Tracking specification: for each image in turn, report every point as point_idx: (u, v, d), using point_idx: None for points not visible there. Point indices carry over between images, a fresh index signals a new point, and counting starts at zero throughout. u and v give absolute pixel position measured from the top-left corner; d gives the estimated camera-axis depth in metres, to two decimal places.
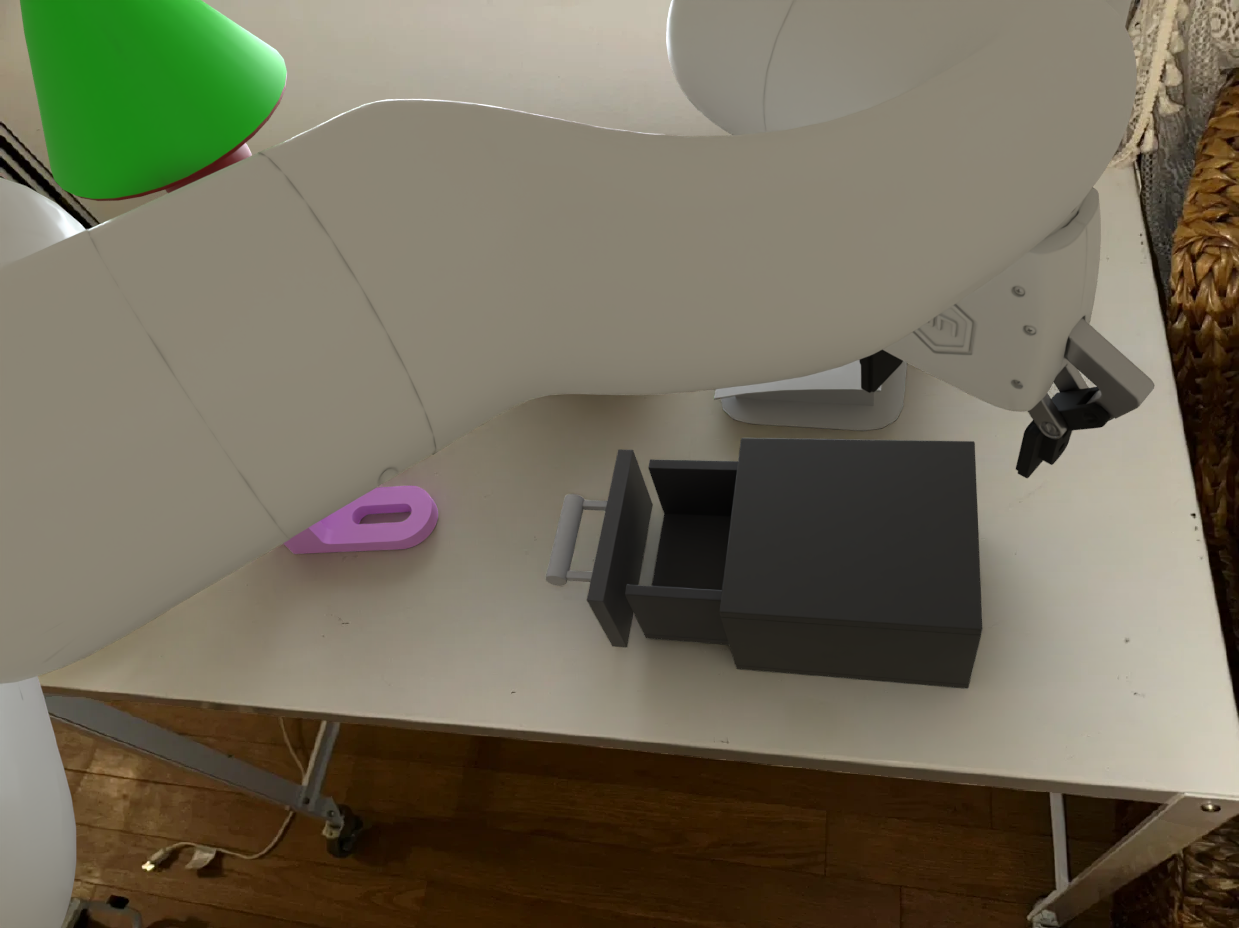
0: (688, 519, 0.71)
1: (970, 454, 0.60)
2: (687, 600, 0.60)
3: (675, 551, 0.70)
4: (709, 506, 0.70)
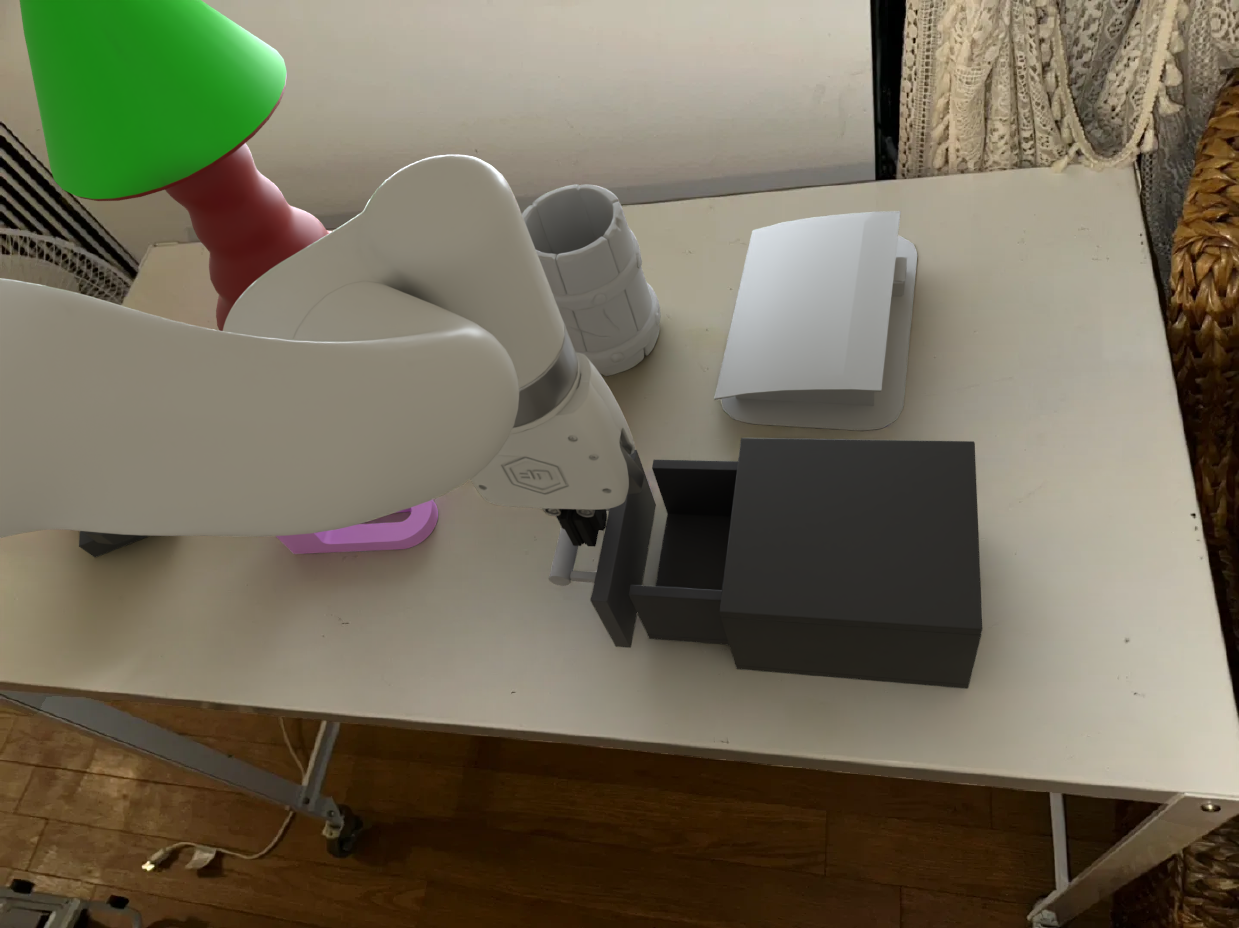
0: (691, 519, 0.71)
1: (970, 454, 0.60)
2: (691, 600, 0.60)
3: (678, 551, 0.70)
4: (713, 506, 0.70)
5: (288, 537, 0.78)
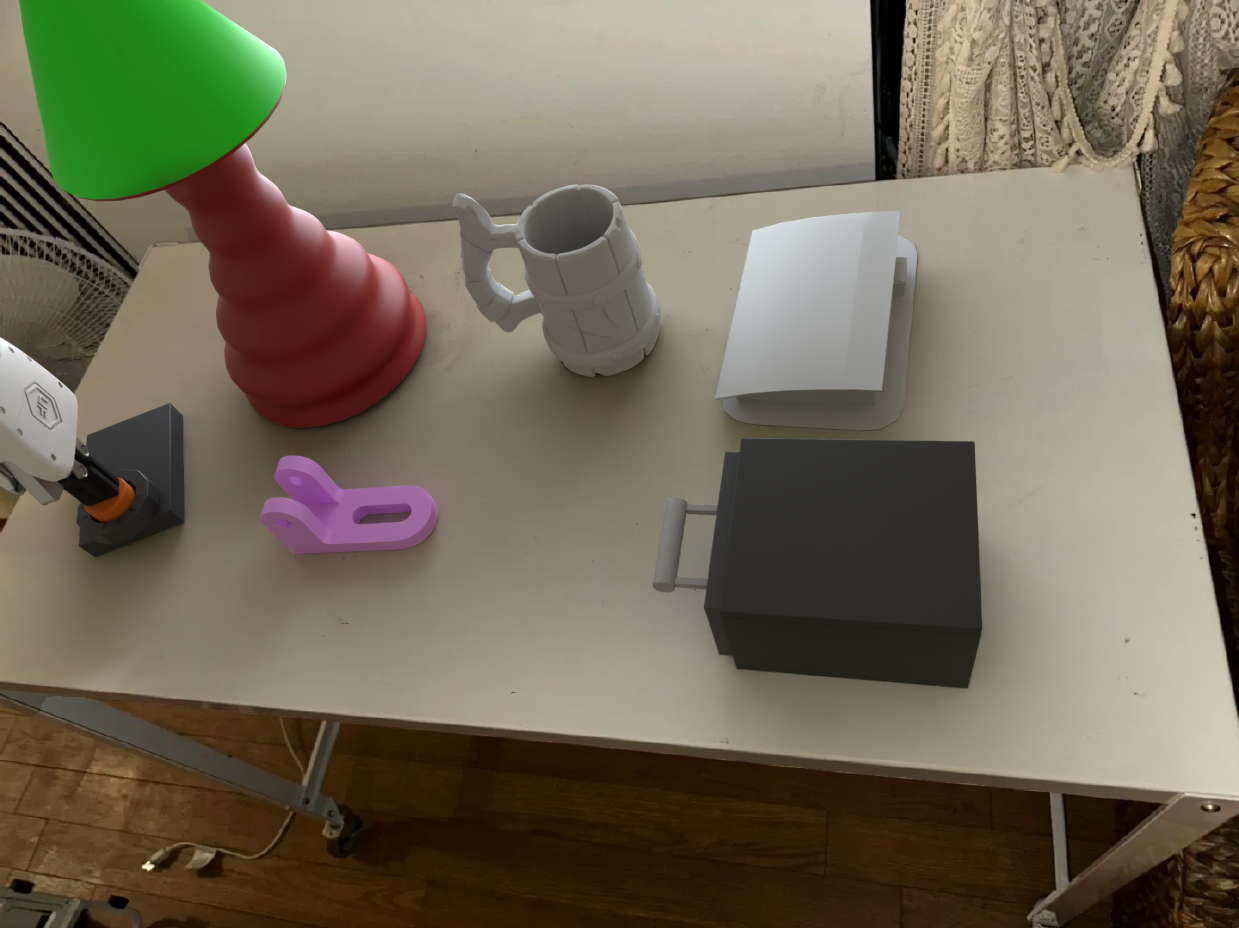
0: None
1: (970, 454, 0.60)
2: None
3: None
4: None
5: (288, 537, 0.78)
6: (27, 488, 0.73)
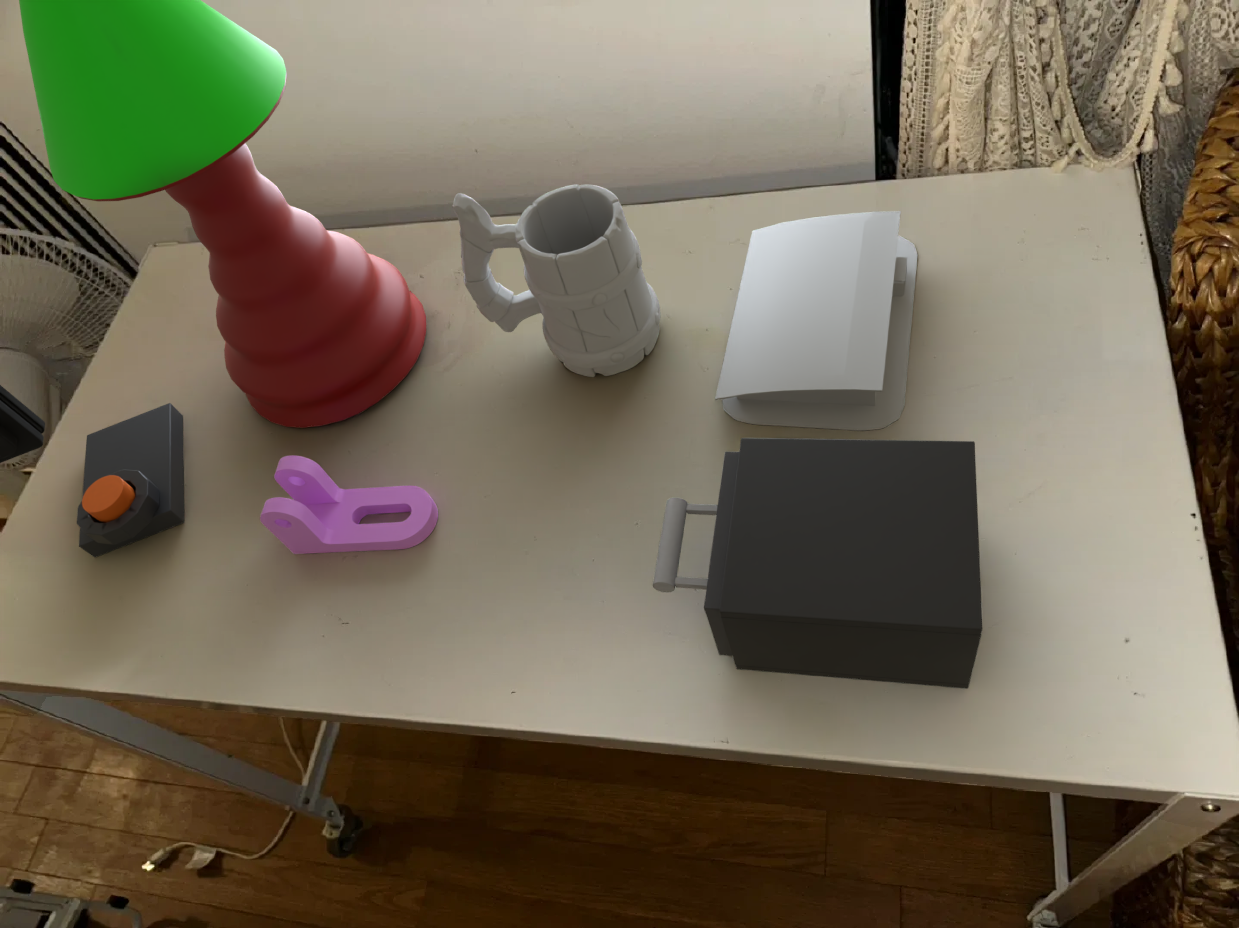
0: None
1: (970, 454, 0.60)
2: None
3: None
4: None
5: (288, 537, 0.78)
6: None
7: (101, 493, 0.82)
